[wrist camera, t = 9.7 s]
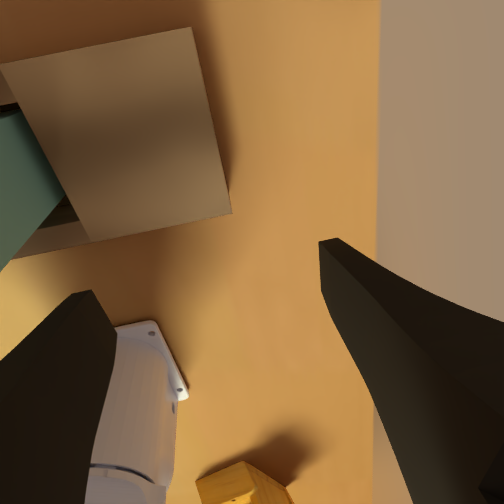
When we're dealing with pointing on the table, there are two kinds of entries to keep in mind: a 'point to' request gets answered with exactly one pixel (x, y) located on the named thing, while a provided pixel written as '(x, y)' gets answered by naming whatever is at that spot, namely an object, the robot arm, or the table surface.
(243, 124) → the table surface
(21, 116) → the teal peg
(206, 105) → the walnut rail
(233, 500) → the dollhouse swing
